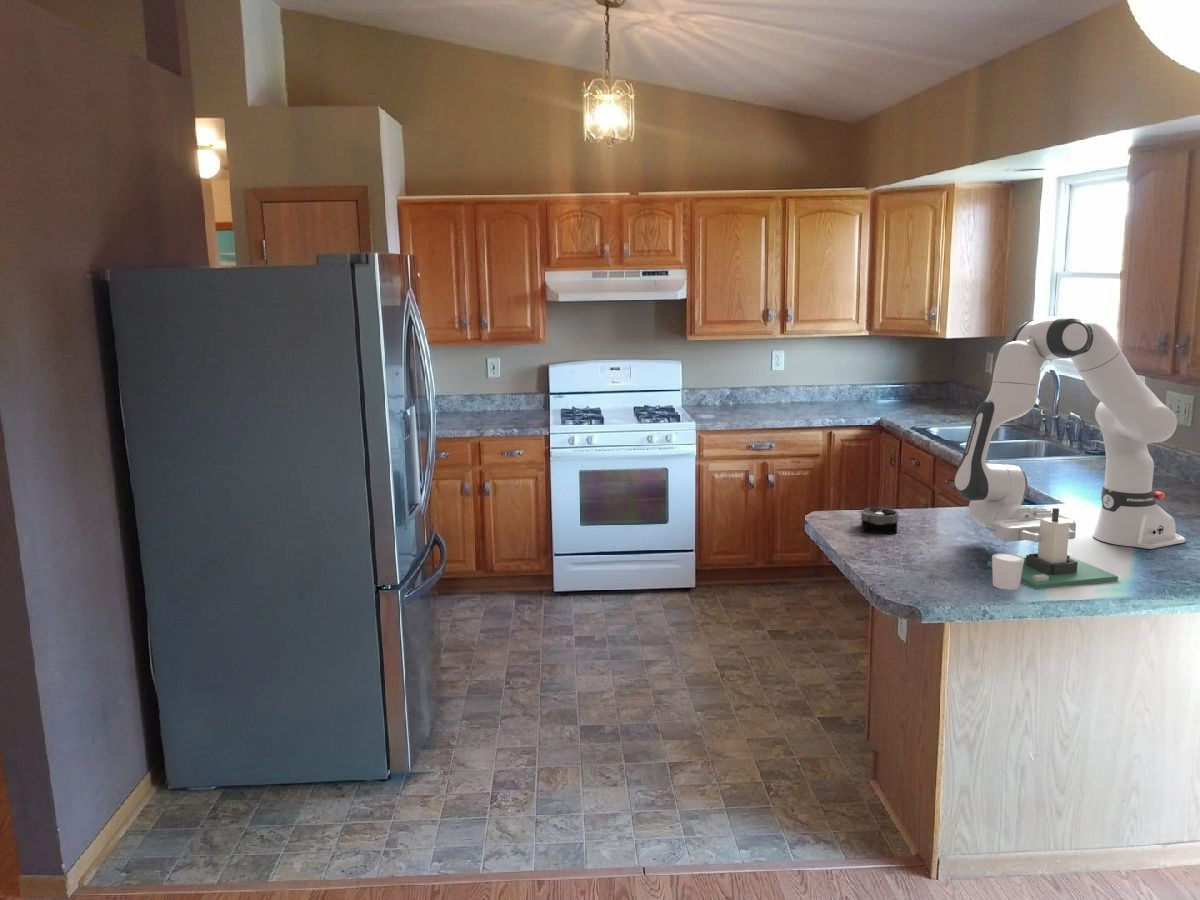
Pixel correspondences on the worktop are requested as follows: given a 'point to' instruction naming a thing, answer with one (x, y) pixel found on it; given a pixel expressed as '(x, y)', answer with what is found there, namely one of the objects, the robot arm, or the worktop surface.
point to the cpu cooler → (879, 520)
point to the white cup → (1007, 570)
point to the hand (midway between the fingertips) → (1055, 537)
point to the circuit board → (1060, 573)
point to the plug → (1053, 539)
